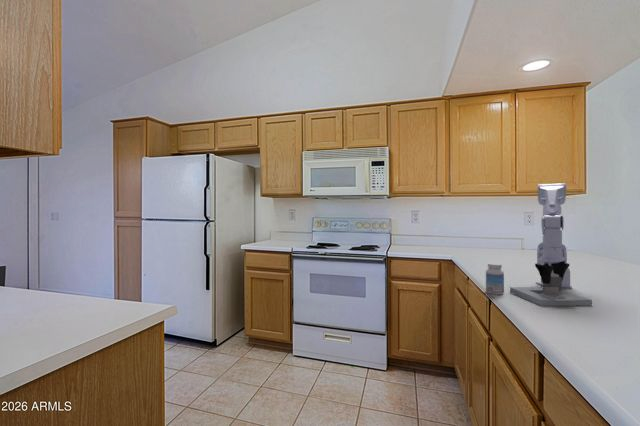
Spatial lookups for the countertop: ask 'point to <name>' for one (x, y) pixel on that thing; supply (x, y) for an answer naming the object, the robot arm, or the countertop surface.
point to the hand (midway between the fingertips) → (552, 282)
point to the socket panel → (536, 297)
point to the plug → (555, 281)
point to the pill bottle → (494, 279)
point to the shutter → (555, 294)
